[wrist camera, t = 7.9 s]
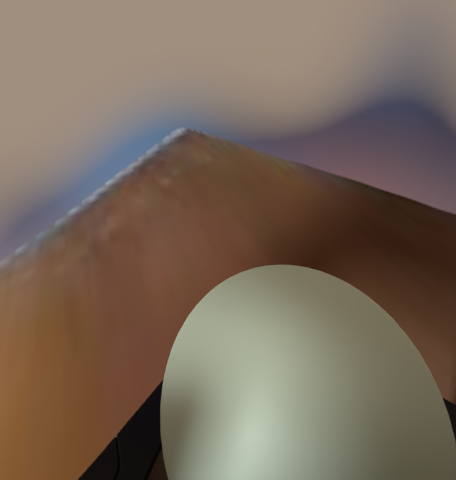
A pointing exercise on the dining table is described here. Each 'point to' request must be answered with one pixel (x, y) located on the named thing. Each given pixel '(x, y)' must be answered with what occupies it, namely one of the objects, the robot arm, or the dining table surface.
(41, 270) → the dining table surface
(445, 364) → the dining table surface
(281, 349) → the post
